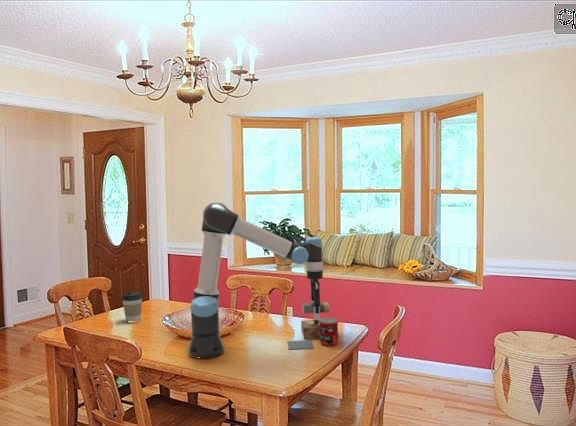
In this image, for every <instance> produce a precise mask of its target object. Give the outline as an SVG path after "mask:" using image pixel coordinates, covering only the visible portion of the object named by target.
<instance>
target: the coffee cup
mask: <svg viewBox="0 0 576 426" xmlns="http://www.w3.org/2000/svg"><path fill="white" fill-rule="evenodd" d="M143 296H144V295H143V294H142V293H141V292H140V291H131V292H125V293H123V295H122V296H121V301H122V305H123V310H124V311H123V312H124V315H125V320H126V322H127V321H138V320H140V321H141V318H142V307H143V306H142V305H143V304H142V303H143V299H144V297H143Z"/></svg>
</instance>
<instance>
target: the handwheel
mask: <svg viewBox="0 0 576 426" xmlns="http://www.w3.org/2000/svg"><path fill="white" fill-rule="evenodd" d="M313 305H314V303H312V302H304V303H302V313H303V314H312V313H314V307H313ZM321 313H323V314H324V313H330V304H329V302H327V301H326V302H325V301H324V302H320V314H321ZM313 320H314V319H313ZM314 323H318V320H314Z"/></svg>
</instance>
